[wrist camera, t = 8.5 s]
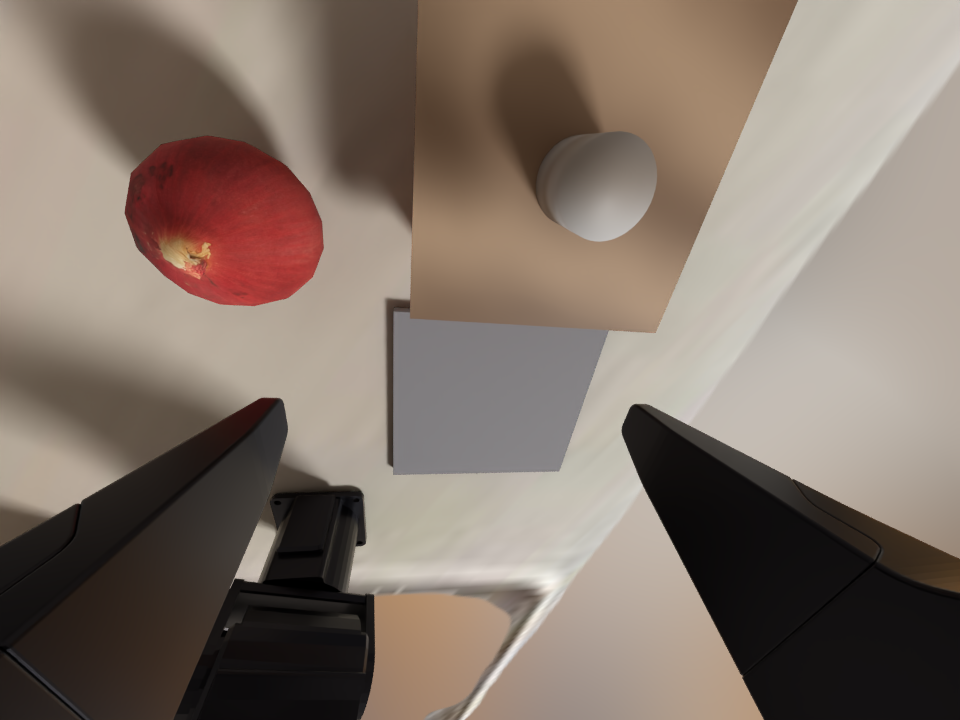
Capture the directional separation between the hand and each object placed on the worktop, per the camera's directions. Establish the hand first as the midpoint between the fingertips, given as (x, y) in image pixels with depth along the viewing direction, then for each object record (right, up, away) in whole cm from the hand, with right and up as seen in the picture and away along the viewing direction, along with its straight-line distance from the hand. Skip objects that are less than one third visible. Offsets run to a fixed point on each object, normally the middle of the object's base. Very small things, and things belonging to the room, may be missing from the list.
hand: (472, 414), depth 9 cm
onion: (-10, +8, +7) cm, 15 cm away
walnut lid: (+3, +8, +4) cm, 10 cm away
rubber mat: (+1, -1, +15) cm, 15 cm away
